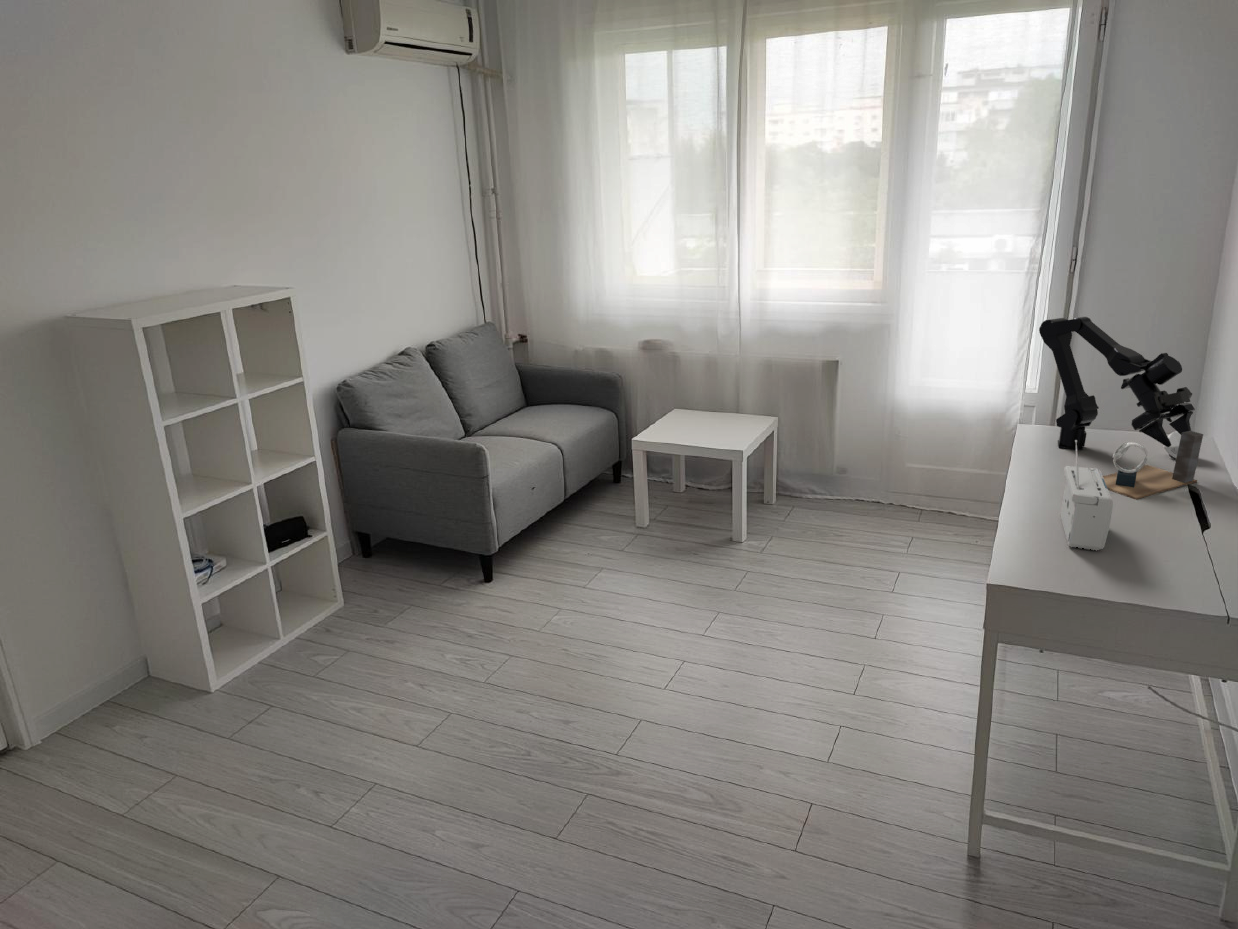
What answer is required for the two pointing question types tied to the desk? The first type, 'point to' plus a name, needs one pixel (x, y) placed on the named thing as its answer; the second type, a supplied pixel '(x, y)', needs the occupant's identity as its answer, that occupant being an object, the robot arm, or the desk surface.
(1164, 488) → the pull board
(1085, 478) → the stereo radio cassette player
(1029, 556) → the desk surface
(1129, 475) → the watch
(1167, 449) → the die
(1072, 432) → the robot arm
